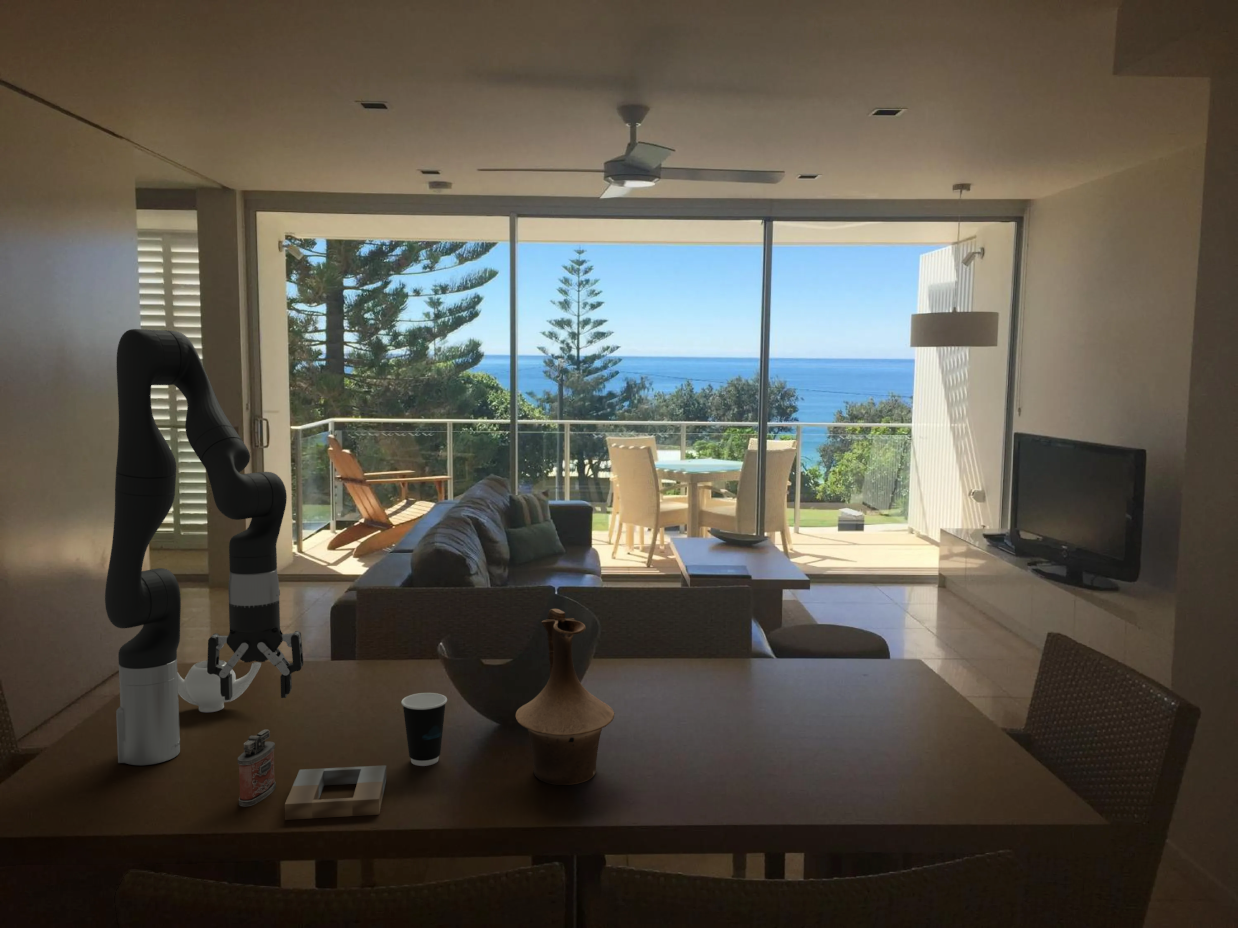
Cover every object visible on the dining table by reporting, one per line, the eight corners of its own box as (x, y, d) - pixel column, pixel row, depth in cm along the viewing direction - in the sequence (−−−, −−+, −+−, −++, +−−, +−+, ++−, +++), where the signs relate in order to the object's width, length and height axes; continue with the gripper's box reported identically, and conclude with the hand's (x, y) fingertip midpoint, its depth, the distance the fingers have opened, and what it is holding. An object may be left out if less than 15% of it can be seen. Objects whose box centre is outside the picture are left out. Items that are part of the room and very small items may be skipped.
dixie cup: (436, 771, 166) (436, 709, 165) (394, 766, 168) (393, 705, 167) (454, 753, 174) (454, 694, 173) (413, 749, 176) (413, 690, 175)
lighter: (252, 807, 152) (251, 745, 151) (233, 805, 153) (231, 743, 152) (280, 785, 160) (279, 727, 159) (262, 783, 161) (260, 725, 160)
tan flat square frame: (285, 819, 148) (284, 803, 148) (300, 783, 161) (299, 769, 160) (379, 814, 150) (378, 798, 150) (386, 779, 163) (386, 765, 163)
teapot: (168, 701, 200) (167, 657, 199) (268, 699, 202) (267, 655, 201) (150, 718, 190) (149, 672, 189) (255, 715, 192) (254, 670, 191)
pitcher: (502, 760, 171) (502, 605, 169) (591, 746, 178) (592, 597, 176) (533, 800, 155) (533, 630, 153) (630, 783, 162) (632, 620, 159)
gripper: (200, 605, 149) (203, 707, 150) (296, 602, 151) (299, 703, 153) (212, 594, 156) (215, 691, 158) (304, 591, 158) (306, 688, 160)
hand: (256, 697), depth 155 cm, fingers open, 8 cm apart
